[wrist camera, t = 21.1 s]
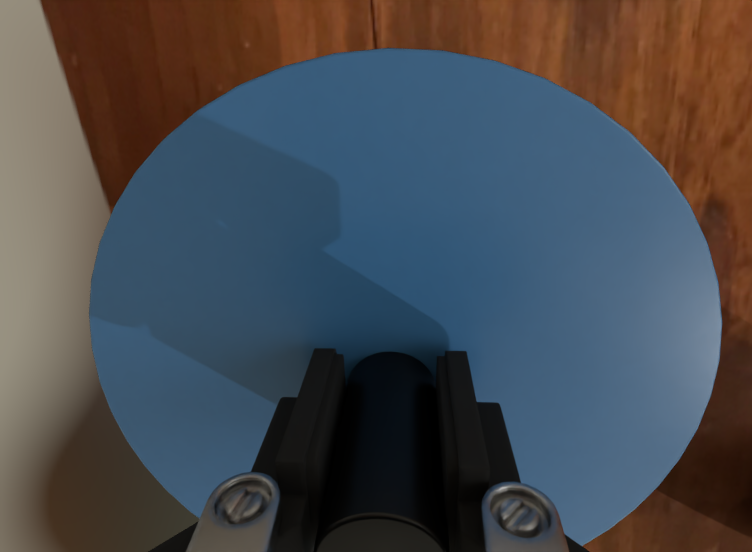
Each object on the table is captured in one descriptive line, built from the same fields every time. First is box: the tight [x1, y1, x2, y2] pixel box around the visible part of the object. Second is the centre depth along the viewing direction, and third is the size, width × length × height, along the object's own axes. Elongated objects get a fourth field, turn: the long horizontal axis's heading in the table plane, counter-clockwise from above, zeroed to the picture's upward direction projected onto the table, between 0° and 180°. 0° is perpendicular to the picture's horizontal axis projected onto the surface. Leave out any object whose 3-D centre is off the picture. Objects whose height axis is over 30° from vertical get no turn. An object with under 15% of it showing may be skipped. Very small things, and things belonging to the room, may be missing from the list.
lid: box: [89, 48, 722, 552], centre depth 11 cm, size 17×17×6 cm
